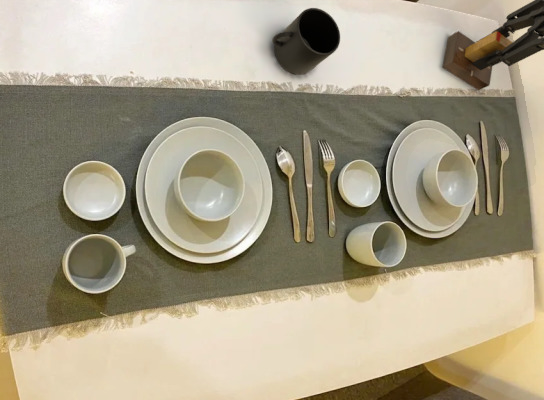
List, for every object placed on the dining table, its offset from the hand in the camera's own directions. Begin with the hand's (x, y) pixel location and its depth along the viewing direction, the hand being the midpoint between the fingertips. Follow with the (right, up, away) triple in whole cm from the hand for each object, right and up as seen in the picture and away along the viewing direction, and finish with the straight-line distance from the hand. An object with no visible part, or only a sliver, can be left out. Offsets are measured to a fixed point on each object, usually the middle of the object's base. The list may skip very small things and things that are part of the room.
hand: (478, 55), depth 111 cm
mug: (-47, -4, -16) cm, 50 cm away
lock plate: (-2, -1, +4) cm, 4 cm away
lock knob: (0, 0, +1) cm, 1 cm away
